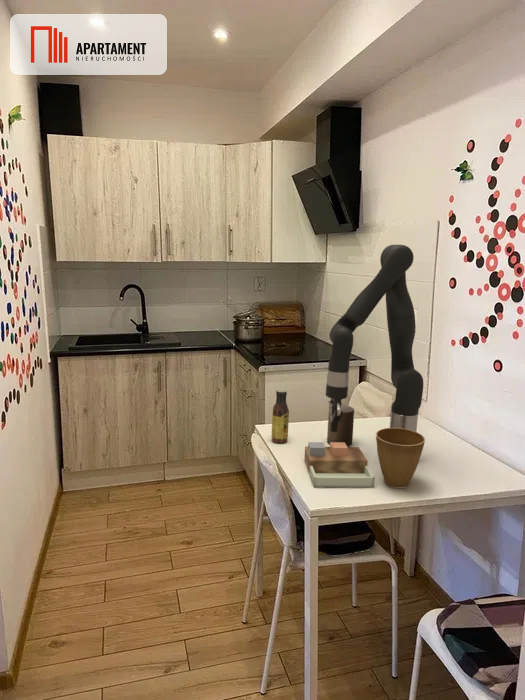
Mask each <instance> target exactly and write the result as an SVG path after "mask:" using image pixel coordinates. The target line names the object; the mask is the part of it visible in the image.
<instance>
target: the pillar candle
mask: <svg viewBox="0 0 525 700" xmlns="http://www.w3.org/2000/svg"><path fill="white" fill-rule="evenodd" d="M341 410H342V411H343V414H342V417H341V420H340V422H338V427H337V432H331V430H330V426H331V420H330V416H329V415H328V420H327V438H326V441H327V444H328V445H330V442H345V444H346V446H347V447H352V445H353V440H354V439H353V437H354V421H355V419H354V418H355V408H354V407H352V406H350V405H344V404H343V405H342V409H341Z"/></svg>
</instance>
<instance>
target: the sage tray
mask: <svg viewBox="0 0 525 700" xmlns="http://www.w3.org/2000/svg"><path fill="white" fill-rule="evenodd" d="M308 474H309V473H308ZM309 478H310V481H311V483H312V487H313V488H324V489H325V488H331V489H332V488H339V487H340V488H339V489H341V488H342V487H343V488H345V489H346V488H351V489H352V488H360V489H361V488H366V489H367V488H371V489H372V488H375V484H376V482H375V481H376V478H375V476H374V475H373V472H372V471H371V469H370V468H369V466H368V465H367V466H365V472H364V473H315V471H314V469H313V466H310V474H309Z"/></svg>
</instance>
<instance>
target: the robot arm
mask: <svg viewBox="0 0 525 700" xmlns="http://www.w3.org/2000/svg"><path fill="white" fill-rule="evenodd" d="M379 258H380V260H379V261H380V269H379V271H378V273H377V274H376V275H375V277H373V279H372V280H371V282H370V283H369V284H367V285H366V286H365V288H364V289H363V290H361V291H360V293H359V294H358V295H357V296H356V297H355V299H354V300H353V301H352V303H351V305H349V306H348V308H347V311H346V312H345V313H344V314H342V316H341V317H340V318H339V319H338V320H337V321H336V322H335V323H334V325H333V326H332V328H331V329H330V331H329V334H328V335H329V340H330V341H331V342H332V346H331V354H330V355H329V358H328V368H327V375H326V384H325V396H326V397H327V398H329V399H330V400H328V416H330V420H331V426H330V430H331V432H337V427H338V422H340V420H341V417H342V414H343V411H342V410H341V409H342V405H344V404H343V403H342V401H343V400H345V399H347V398H348V393H349V383H350V381H349V380H350V375H349V373H350V360H351V355H352V351H353V347H354V335H353V333H354V332H355V330H356V329H357V328H358V327H360V326H363V324H364V323H365V322H366V321H367V319H368V318H369V317H370V315H371V314H372V312H373V311H374V310H375V307H377V305H378V304H379V303H380V302H381V300H382V299H383V297H384V296H385V306H386V307H385V308H386V322H387V324H386V325H387V330H388V331H387V332H388V340H389V346H390V354H391V355H390V356H391V357H390V358H391V362H390V363H391V369H390V370H391V371H390V376H391V377H390V380H391V383H392V385H393V387H394V388H395V396H394V397H395V398H394V399H395V400H394V401H393V402H392V403H391V408H390V419H389V421H390V422H389V428H403V429H409V430H412V431H415V432H418V421H419V419H418V418H419V412H420V411H419V410H420V408H421V405H422V399H423V393H424V378H423V376H422V374H421V373H420V372H419V371H418V370H417V369H415V366H414V365H415V364H414V359H413V345H414V340H415V335H416V328H417V327H416V315H415V314H416V313H415V308H414V305H413V301H412V298H411V296H410V293H409V290H408V286H407V277H406V273H407V271H408V270H409V269H410V268H411V266H412V265H413V262H414V253H413V250H412V249H411V248H410V247H409V246H407V245H405V244H390V245H388V246H386V247H385V248H383V250H382V251H381V254H380V257H379Z"/></svg>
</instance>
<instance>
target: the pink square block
mask: <svg viewBox="0 0 525 700" xmlns="http://www.w3.org/2000/svg"><path fill="white" fill-rule="evenodd" d="M329 447H330V452H331V454H332V456H347V453H348V447H349V446H346V444H345V442H330V444H329Z"/></svg>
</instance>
